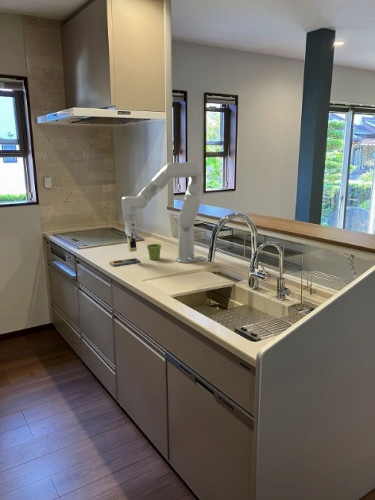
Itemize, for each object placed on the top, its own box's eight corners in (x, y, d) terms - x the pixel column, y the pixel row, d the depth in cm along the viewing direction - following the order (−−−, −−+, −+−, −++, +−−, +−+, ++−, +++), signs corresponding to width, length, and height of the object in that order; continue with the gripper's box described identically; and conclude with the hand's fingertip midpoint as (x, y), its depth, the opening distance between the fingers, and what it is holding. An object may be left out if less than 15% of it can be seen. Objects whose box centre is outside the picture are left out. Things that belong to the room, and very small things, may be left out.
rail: (136, 259, 252) (136, 257, 252) (140, 262, 246) (139, 260, 246) (109, 263, 245) (109, 261, 244) (112, 266, 239) (112, 264, 238)
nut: (136, 250, 245) (135, 238, 243) (130, 252, 243) (129, 239, 241) (134, 249, 248) (133, 236, 246) (128, 250, 246) (127, 237, 244)
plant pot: (144, 260, 251) (143, 246, 249) (151, 256, 260) (150, 243, 258) (158, 261, 248) (157, 247, 246) (164, 257, 256) (164, 244, 254)
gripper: (140, 218, 235) (142, 248, 239) (130, 214, 249) (133, 243, 254) (128, 219, 231) (130, 250, 236) (119, 216, 246) (122, 245, 251)
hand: (132, 246), depth 245 cm, fingers closed on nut, 4 cm apart
